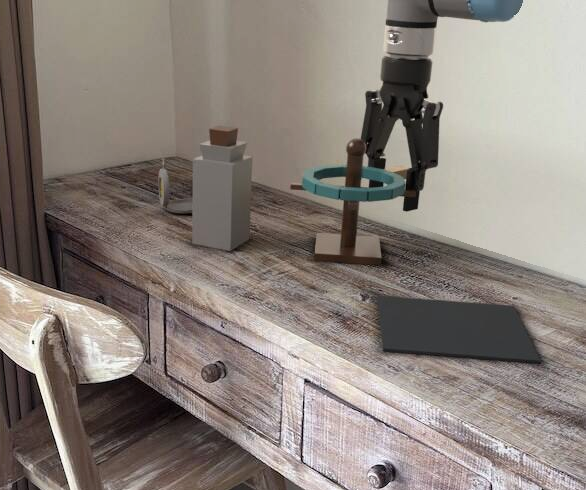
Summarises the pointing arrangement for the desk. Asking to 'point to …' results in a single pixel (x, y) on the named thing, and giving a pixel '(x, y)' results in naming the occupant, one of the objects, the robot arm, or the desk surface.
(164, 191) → the pocket watch
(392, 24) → the robot arm
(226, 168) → the perfume bottle
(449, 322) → the mat
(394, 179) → the ring
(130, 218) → the desk surface
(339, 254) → the stand
